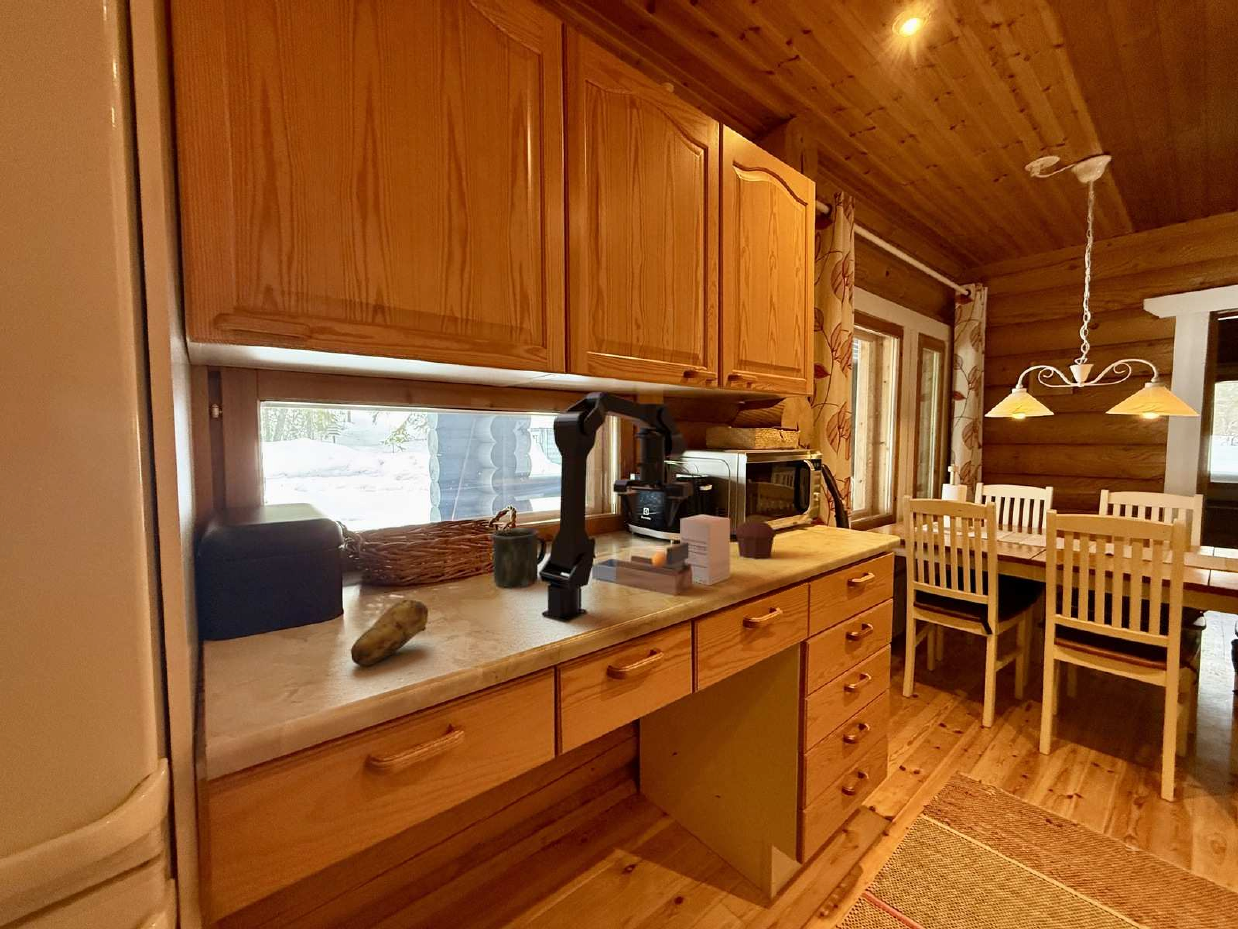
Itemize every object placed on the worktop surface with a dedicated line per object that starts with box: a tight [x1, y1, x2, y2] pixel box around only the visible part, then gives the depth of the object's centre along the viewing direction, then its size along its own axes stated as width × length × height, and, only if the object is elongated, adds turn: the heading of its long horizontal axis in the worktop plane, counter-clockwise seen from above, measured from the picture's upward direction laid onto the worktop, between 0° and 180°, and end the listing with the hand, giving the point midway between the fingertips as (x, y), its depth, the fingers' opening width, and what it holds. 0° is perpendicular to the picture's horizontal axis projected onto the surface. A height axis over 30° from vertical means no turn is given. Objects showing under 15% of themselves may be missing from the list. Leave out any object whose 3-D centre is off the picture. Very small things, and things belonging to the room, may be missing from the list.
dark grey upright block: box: [666, 542, 689, 573], centre depth 119 cm, size 8×2×6 cm, turn 145°
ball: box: [652, 551, 667, 568], centre depth 121 cm, size 4×4×4 cm
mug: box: [490, 527, 547, 588], centre depth 126 cm, size 11×15×12 cm
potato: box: [350, 599, 429, 667], centre depth 84 cm, size 8×13×8 cm, turn 135°
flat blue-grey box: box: [591, 557, 631, 584], centre depth 129 cm, size 8×8×4 cm
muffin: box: [734, 519, 777, 560], centre depth 152 cm, size 12×11×10 cm
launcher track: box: [615, 555, 693, 596], centre depth 122 cm, size 8×16×5 cm, turn 55°
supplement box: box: [679, 514, 731, 586], centre depth 128 cm, size 9×9×15 cm
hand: (652, 524), depth 123 cm, fingers open, 9 cm apart
